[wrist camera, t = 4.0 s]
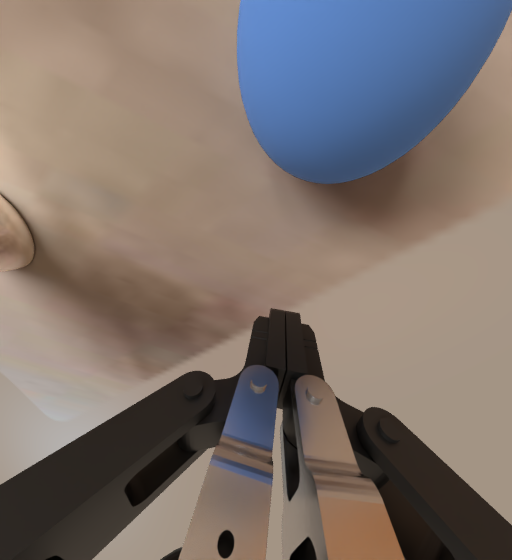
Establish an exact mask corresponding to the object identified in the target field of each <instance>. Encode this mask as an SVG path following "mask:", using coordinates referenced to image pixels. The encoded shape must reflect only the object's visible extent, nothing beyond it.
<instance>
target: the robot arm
mask: <svg viewBox="0 0 512 560" xmlns="http://www.w3.org/2000/svg"><path fill="white" fill-rule="evenodd" d="M277 408H280V409H283V421H282V424H281V427H280V440H281V459H282V477H283V496H284V505H283V515H282V554H283V555H282V556H283V560H512V525H511V524H510V523H509V522H508V521H506V520H505V519H504V518H503V517H502V516H501V515H500V514H499V513H498V512H497V511H496V510H495V509H494V508H493V507H492V506H490V505H489V504H488V503H487V502H486V501H485V500H484V499H483V498H482V497H481V496H480V495H479V494H478V493H477V492H475V491H474V490H473V489H472V488H471V487H470V486H469V485H468V484H467V483H466V482H465V481H464V480H463V479H461V477H459V476H458V475H457V474H456V473H455V472H454V471H453V470H452V469H451V468H450V467H449V466H447V464H445V463H444V462H443V461H442V460H441V459H440V458H439V457H438V456H437V455H436V454H435V453H434V452H433V451H432V450H430V449H429V448H428V447H427V446H426V445H425V444H424V443H423V442H422V441H421V440H420V439H419V438H418V437H417V436H416V435H414V434H413V433H412V432H411V431H410V430H409V429H408V428H407V427H406V426H405V425H404V424H403V423H402V422H401V421H399V420H398V419H397V418H396V417H395V416H394V415H392V414H391V413H389V412H388V411H386V410H383V409H381V408H377V407H371V408H368V409H367V410H366V411H365V412H362V411H360V410H358V409H356V408H354V407H352V406H350V405H348V404H346V403H344V402H343V401H341V400H340V399H338V398H337V397H336V396H335V394H334V392H333V390H332V389H331V387H330V386H329V385H328V384H327V383H326V382H325V380H324V376H323V371H322V366H321V362H320V357H319V352H318V350H317V343H316V339H315V334H314V332H313V331H312V329H311V328H310V326H309V325H306V324H301V319H300V314H299V313H295V312H289V311H283V310H278V309H272V308H271V309H270V314H269V318H267V317H262V316H259V317H258V318H257V319H256V320H255V321H254V324H253V329H252V334H251V339H250V343H249V348H248V353H247V358H246V362H245V366H244V368H243V369H242V371H241V372H240V373H239V374H237V375H236V376H234V377H231V378H228V379H221V380H213V378H212V377H211V376H210V375H209V374H207V373H205V372H202V371H192V372H189V373H186V374H184V375H182V376H181V377H179V378H177V379H176V380H174V381H172V382H171V383H169V384H167V385H166V386H164V387H162V388H161V389H159V390H157V391H156V392H154V393H152V394H151V395H149V396H148V397H146V398H144V399H142V400H141V401H139V402H137V403H136V404H134V405H132V406H131V407H129V408H127V409H126V410H124V411H122V412H121V413H119V414H117V415H116V416H114V417H112V418H111V419H109V420H107V421H106V422H104V423H102V424H101V425H99V426H97V427H96V428H94V429H92V430H91V431H89V432H87V433H86V434H84V435H82V436H81V437H79V438H77V439H76V440H74V441H72V442H71V443H69V444H67V445H66V446H64V447H62V448H61V449H59V450H58V451H56V452H54V453H53V454H51V455H49V456H48V457H46V458H44V459H43V460H41V461H39V462H38V463H36V464H34V465H32V466H31V467H29V468H28V469H26V470H24V471H22V472H21V473H19V474H18V475H16V476H14V477H13V478H11V479H9V480H8V481H6V482H4V483H3V484H1V485H0V560H92V559H93V558H94V557H95V556H96V555H97V554H98V553H99V552H100V551H101V550H102V549H103V548H104V547H106V546H107V545H108V544H109V543H110V542H111V541H112V540H113V539H114V538H115V537H116V536H117V535H118V534H119V533H120V532H121V531H122V530H123V529H124V528H125V527H126V526H127V525H128V524H129V523H131V521H133V520H134V519H135V518H136V517H137V516H138V515H139V514H140V513H141V512H142V511H143V510H144V509H145V508H146V507H147V506H148V505H149V504H150V503H151V502H153V501H154V500H155V498H157V497H158V496H159V495H160V494H161V493H162V492H163V491H164V490H165V489H166V488H167V487H168V486H169V485H170V484H171V483H172V482H173V481H174V480H175V479H177V478H178V477H179V476H180V474H182V473H183V472H184V471H185V470H186V469H187V468H188V467H189V466H190V465H191V464H192V463H193V462H194V461H195V460H196V459H197V458H198V457H199V456H201V455H202V454H203V453H204V452H205V451H206V450H207V449H208V448H212V447H215V450H214V452H213V455H212V458H211V461H210V464H209V467H208V470H207V473H206V476H205V479H204V482H203V485H202V488H201V491H200V495H199V498H198V501H197V504H196V507H195V510H194V513H193V516H192V519H191V522H190V526H189V529H188V532H187V535H186V538H185V541H184V544H183V547H181V548H179V549H176V550H174V551H173V552H171V553H170V554H168V555H167V556H165V557H163V558H162V559H161V560H265V559H266V548H267V537H268V526H269V515H270V514H269V513H270V504H271V492H272V480H273V461H272V448H273V439H274V429H275V419H276V409H277Z"/></svg>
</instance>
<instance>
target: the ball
mask: <svg viewBox="0 0 512 560" xmlns="http://www.w3.org/2000/svg"><path fill="white" fill-rule="evenodd" d="M511 11H512V0H241V2H240V8H239V18H238V29H237V64H238V76H239V85H240V90H241V96H242V100H243V104H244V107H245V111H246V114H247V118H248V121H249V123H250V126H251V128H252V130H253V133H254V135H255V137H256V138H257V140H258V142H259V144H260V145H261V147H262V148H263V149H264V151H265V152H266V154H267V155H268V156H269V157H270V158H271V159H272V160H273V161H274V162H275V163H276V164H277V165H278V166H279V167H281V168H282V169H283V170H284V171H286V172H288V173H289V174H291V175H293V176H295V177H297V178H300V179H302V180H305V181H309V182H314V183H322V184H333V183H342V182H347V181H352V180H355V179H359V178H361V177H364V176H367V175H370V174H372V173H374V172H376V171H378V170H380V169H382V168H384V167H386V166H387V165H389V164H390V163H392V162H394V161H395V160H397V159H398V158H400V157H401V156H403V155H404V154H406V153H407V152H408V151H409V150H411V149H412V148H413V147H415V146H416V145H417V144H418V143H419V142H420V141H422V140H423V139H424V138H425V137H426V136H427V135H428V134H429V133H430V132H431V131H432V130H433V129H434V128H435V127H436V126H437V125H438V124H439V123H440V122H441V121H442V120H443V119H444V117H445V116H446V115H447V114H448V113H449V112H450V111H451V110H452V109H453V107H454V106H455V105H456V104H457V102H458V101H459V100H460V98H461V97H462V96H463V94H464V93H465V92H466V90H467V89H468V88H469V86H470V85H471V83H472V82H473V80H474V79H475V77H476V76H477V74H478V73H479V71H480V69H481V68H482V66H483V65H484V63H485V62H486V60H487V58H488V57H489V55H490V54H491V52H492V50H493V48H494V46H495V44H496V42H497V40H498V39H499V37H500V35H501V33H502V31H503V29H504V27H505V24H506V22H507V20H508V18H509V15H510V13H511Z"/></svg>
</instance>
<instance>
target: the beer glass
mask: <svg viewBox="0 0 512 560" xmlns="http://www.w3.org/2000/svg"><path fill="white" fill-rule="evenodd" d="M33 256H34V242H33V238H32V235H31V233H30V231H29V229H28V227H27V225H26V223H25V222H24V220H23V218H22V217H21V216H20V214H19V213H18V212H17V211H16V209H15V208H14V207H13V206H12V205H11V204H10V203H9V202H8V201H7V200H6V199H5V198H4V197H3V196H2V195H0V272H4V271H10V270H15V269H19V268H22V267H24V266H26V265H28V264H29V263H30V262H31V261H32V259H33Z"/></svg>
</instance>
